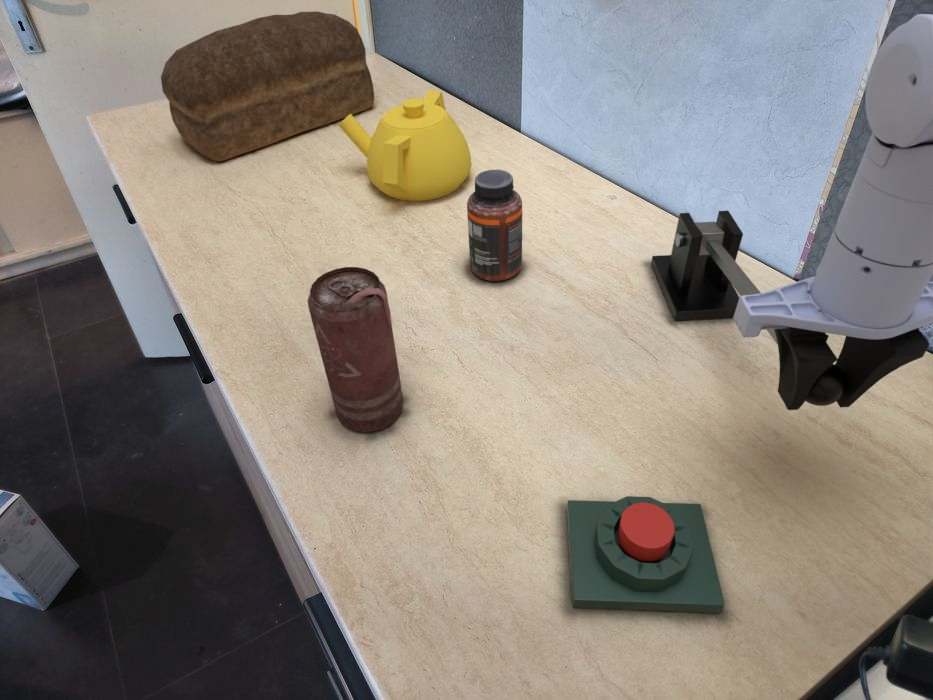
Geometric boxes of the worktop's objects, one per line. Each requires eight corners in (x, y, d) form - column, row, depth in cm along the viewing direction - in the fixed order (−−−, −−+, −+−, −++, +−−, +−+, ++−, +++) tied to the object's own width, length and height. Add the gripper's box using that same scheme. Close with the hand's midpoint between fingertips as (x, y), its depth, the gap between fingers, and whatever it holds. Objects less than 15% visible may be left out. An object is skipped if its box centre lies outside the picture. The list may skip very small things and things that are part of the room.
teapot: (372, 141, 100) (362, 68, 93) (488, 151, 96) (486, 75, 89) (317, 207, 86) (299, 127, 79) (449, 222, 82) (443, 139, 75)
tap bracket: (742, 317, 67) (764, 249, 61) (674, 321, 67) (690, 253, 61) (712, 261, 74) (729, 195, 68) (650, 264, 74) (662, 199, 68)
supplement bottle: (524, 255, 76) (527, 165, 69) (518, 285, 72) (519, 194, 64) (474, 251, 77) (471, 163, 70) (465, 281, 73) (460, 190, 65)
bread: (171, 139, 104) (132, 34, 93) (340, 84, 118) (323, -13, 108) (209, 170, 95) (171, 58, 85) (386, 106, 110) (373, 4, 99)
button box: (697, 512, 50) (705, 489, 48) (721, 613, 44) (731, 592, 42) (566, 508, 51) (569, 485, 49) (572, 608, 45) (575, 587, 43)
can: (402, 435, 57) (382, 311, 47) (330, 434, 57) (296, 311, 48) (410, 385, 61) (393, 262, 52) (344, 384, 62) (314, 263, 52)
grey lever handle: (847, 413, 46) (861, 377, 44) (802, 416, 46) (814, 380, 44) (715, 245, 68) (720, 217, 66) (684, 247, 68) (689, 218, 66)
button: (665, 516, 47) (669, 502, 46) (674, 562, 44) (679, 549, 43) (615, 515, 47) (617, 501, 46) (620, 560, 45) (623, 547, 43)
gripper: (970, 197, 41) (885, 355, 50) (740, 210, 41) (697, 365, 50) (1048, 262, 36) (937, 425, 45) (784, 277, 36) (727, 436, 45)
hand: (813, 398), depth 47 cm, fingers closed on grey lever handle, 3 cm apart
